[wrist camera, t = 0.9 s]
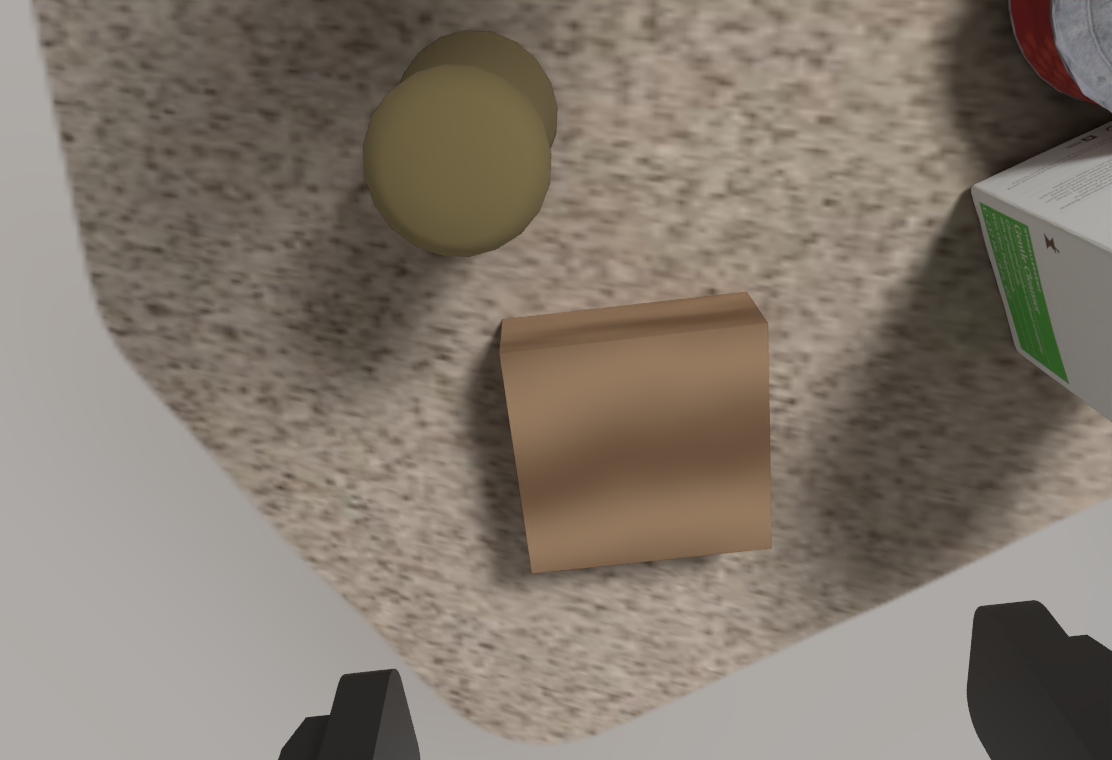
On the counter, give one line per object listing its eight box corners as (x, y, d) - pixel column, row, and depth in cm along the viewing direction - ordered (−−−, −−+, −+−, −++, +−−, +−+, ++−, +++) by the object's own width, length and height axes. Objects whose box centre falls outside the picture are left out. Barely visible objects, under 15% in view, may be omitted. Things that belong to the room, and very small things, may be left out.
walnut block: (502, 316, 37) (499, 353, 34) (744, 289, 37) (768, 323, 33) (532, 520, 41) (532, 573, 38) (750, 497, 41) (771, 548, 37)
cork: (384, 179, 34) (323, 262, 24) (407, 12, 32) (351, 27, 22) (539, 212, 35) (542, 305, 25) (573, 50, 33) (592, 82, 23)
